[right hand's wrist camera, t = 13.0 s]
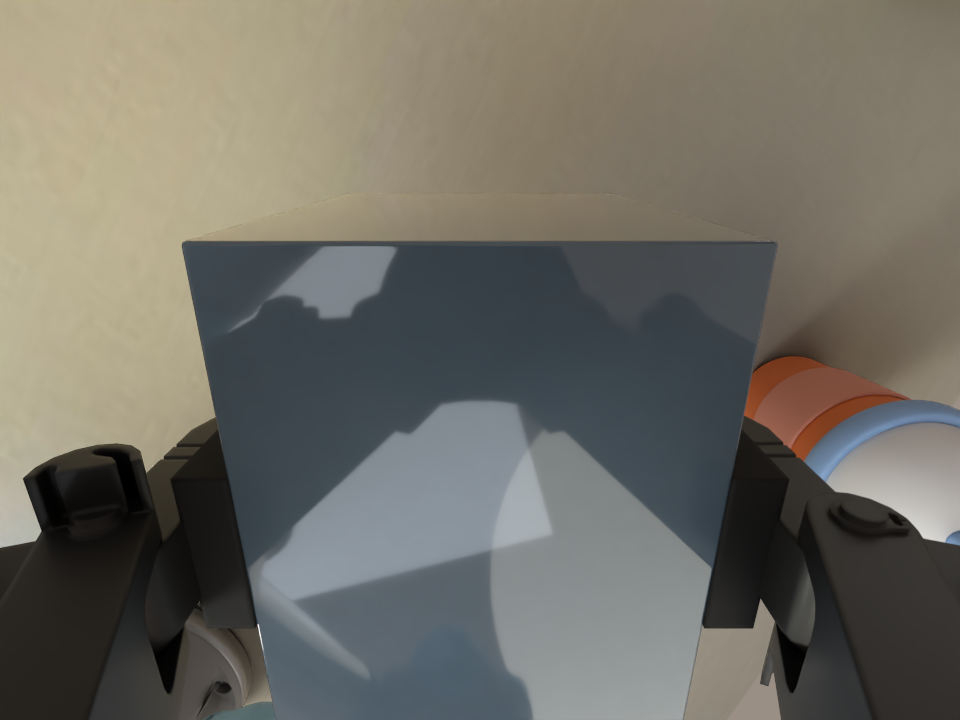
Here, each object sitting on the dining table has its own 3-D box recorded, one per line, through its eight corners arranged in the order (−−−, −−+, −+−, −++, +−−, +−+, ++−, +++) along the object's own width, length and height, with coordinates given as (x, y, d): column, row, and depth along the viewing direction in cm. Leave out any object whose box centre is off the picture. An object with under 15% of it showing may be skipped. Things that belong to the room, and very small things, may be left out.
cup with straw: (835, 308, 33) (1208, 471, 16) (867, 425, 36) (1211, 666, 19) (694, 370, 34) (901, 579, 18) (736, 478, 37) (948, 744, 20)
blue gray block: (613, 192, 14) (780, 241, 6) (588, 485, 17) (677, 758, 9) (346, 192, 14) (178, 241, 6) (371, 485, 17) (282, 759, 9)
